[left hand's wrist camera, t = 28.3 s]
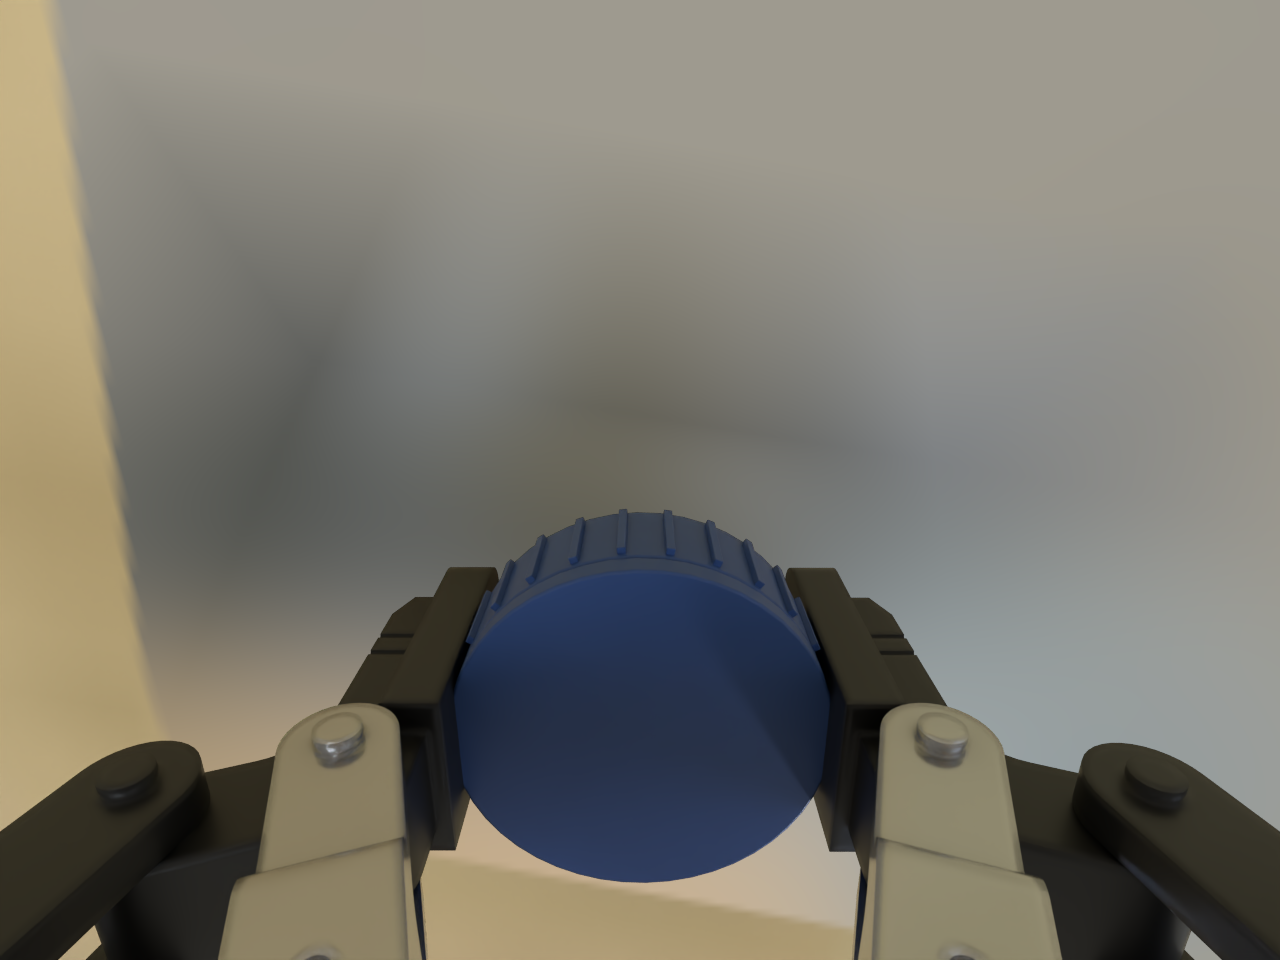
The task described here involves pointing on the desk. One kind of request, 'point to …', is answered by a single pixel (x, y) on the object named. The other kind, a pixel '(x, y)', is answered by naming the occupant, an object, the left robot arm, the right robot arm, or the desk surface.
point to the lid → (641, 700)
